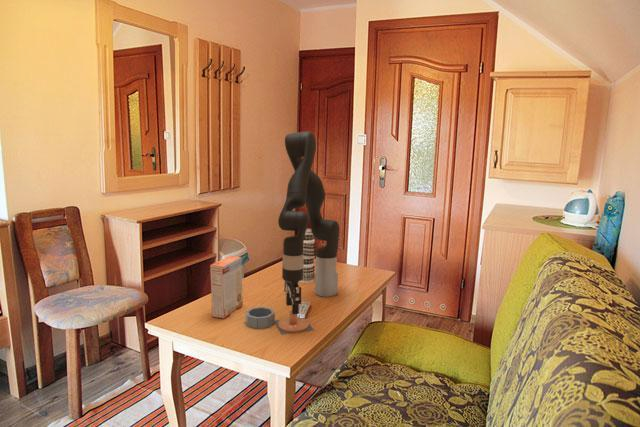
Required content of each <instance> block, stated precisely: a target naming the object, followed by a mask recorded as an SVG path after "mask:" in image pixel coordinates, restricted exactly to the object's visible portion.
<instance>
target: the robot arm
mask: <svg viewBox="0 0 640 427" xmlns="http://www.w3.org/2000/svg"><path fill="white" fill-rule="evenodd" d="M284 146H285V151H286V154H287V155H288V158H289V160H290V162H291V163H290V164H291V166H292V167H293V170H294V172H293V174H292V175H291V177H290V179H289V181H288V184H287V189H286V199H285V202H284V204H283V208H282V209H281V211H280V214H279V215H278V219H277V220H278V221H277V222H278V223H277V224H278V227H279V228H280V229H281V230H282V231H286V232H287V231H291V232H297V234H295V235H292V236H287V237H285V238H284V239H283V242H282V243H283V244H282V245H283V247H282V248H283V252H282V254H283V255H282V261H281V262H282V266H281V267H282V268H281V270H282V271H281V272H282V273H281V274H282V276H281V279H282V280H284V289H283V290H284V293H285V304H286V306H287V307H288V306H291V311H292V313H293V314H297V315H298V314H299V313H300V312H299V311H300V309H299V308H300V305H302V287H301V286H300V284H299V283H300V282H299V281H301V280H302V279H303V266H304V259H303V242H304V236H305V233H306V230H307V229H308V227H309V223H310V229H312V233H313V236H314V239H316V240H318V241H322V242H323V241H324V242H325V241H326V245H325V246H321V247H318V248H316V250H315V274H314V276H315V277H314V282H315V286H314V293H315V295H316V296H319V297H327V298H329V297H334V296H335V295H338V291H339V290H338V289H339V287H338V286H339V274H338V272H337V264H338V262H337V261H338V260H337V258H338V250H339V241H340V226H339V222H338V221H336V220H331V219H324V218H323V217H322V214H321V208H322V206H323V204H324V201H325V199H326V192H325V188H324V184H323V181H322V179H321V178H320V176H319V175H318V174H317V173H315V172H314V170H312V167H313V163H314V159H315V156H316V151H317V141H316V136H315V134H314V133H313V132H312V131H309V130H308V131H307V130H306V131H299V132H291V133H288V134H286V135H285V137H284ZM304 206H305V207H306V211H307V212H306V211H303V210H295V209H298V208H302V207H304Z"/></svg>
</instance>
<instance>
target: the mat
mask: <svg viewBox="0 0 640 427" xmlns="http://www.w3.org/2000/svg"><path fill="white" fill-rule="evenodd" d="M304 319H306V317H305V318H304ZM280 320H281V319H277V320H276V319H275V323H274V324H275V326H276V328H277V330H278V331H279V333H280V335H281V336H283V335H289V334H296V333H306V332H311V331H315V329H314V328H313V327H312V325H311V324H310V323H309V326H308V328H307V329H305V330H303V331H300V332H287V331H283V330H281V329H279V327H278V322H279V321H280Z"/></svg>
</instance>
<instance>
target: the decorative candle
mask: <svg viewBox="0 0 640 427" xmlns="http://www.w3.org/2000/svg"><path fill="white" fill-rule="evenodd" d="M315 239H316V238H315V237H314V236H313V233H312V229H311V228H307V230H306V233H305V236H304V242H303V259H304V266H303V279H302V280H301V281H299V282H298V283H303V284H306V283H307V284H308V283H309V284H310V283H313V282H315V275H316V265H315V261H314V260H315V258H316V250H315V249H317V248H316V246H317V244H316V243H315Z"/></svg>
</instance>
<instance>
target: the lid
mask: <svg viewBox="0 0 640 427" xmlns="http://www.w3.org/2000/svg"><path fill="white" fill-rule="evenodd" d="M279 320H280V321H279V322H278V327H279V329H281V330H283V331H287V332H298V333H301V332H300V331H303V330H305V329H307V328H308V326H309V324H310V323H309V321H308V320H307V318H305V319H304V318H300V317H298V314H293V313H292V310H289V316H287V317H285V318H284V317H283V318H281V319H279Z"/></svg>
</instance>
